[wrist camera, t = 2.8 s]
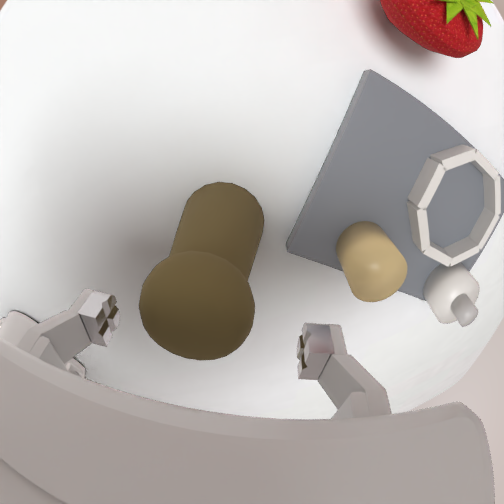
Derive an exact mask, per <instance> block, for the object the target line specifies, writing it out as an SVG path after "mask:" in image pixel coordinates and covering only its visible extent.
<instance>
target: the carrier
mask: <svg viewBox="0 0 504 504" xmlns="http://www.w3.org/2000/svg"><path fill="white" fill-rule="evenodd" d="M503 213H504V179H503V178H502V177H501V175H500V174H499V172H498V171H497V170H496V169H495V168H494V167H493V166H492V164H491V163H490V162H489V161H488V160H487V159H486V158H485V157H484V156H483V155H482V154H481V153H480V152H479V151H478V150H477V149H475V148H474V147H473V146H472V145H471V144H470V143H469V142H468V141H467V140H466V139H465V138H464V137H463V136H462V135H461V134H459V133H458V132H457V131H456V130H455V129H454V128H453V127H452V126H450V125H449V124H448V123H447V122H446V121H445V120H443V119H442V118H441V117H440V116H438V115H437V114H436V113H435V112H433V111H432V110H431V109H430V108H428V107H427V106H426V105H424V104H423V103H422V102H420V101H419V100H417V99H416V98H415V97H413V96H412V95H410V94H409V93H408V92H406V91H405V90H403V89H402V88H400V87H399V86H397V85H396V84H394V83H392V82H391V81H389V80H388V79H386V78H384V77H383V76H381V75H380V74H378V73H376V72H374V71H373V70H371V69H370V70H366V71H364V73H363V75H362V77H361V80H360V82H359V85H358V87H357V89H356V92H355V94H354V96H353V99H352V101H351V103H350V106H349V108H348V110H347V113H346V115H345V117H344V119H343V122H342V124H341V126H340V129H339V131H338V133H337V135H336V138H335V140H334V142H333V144H332V146H331V149H330V151H329V153H328V155H327V158H326V160H325V162H324V164H323V166H322V169H321V171H320V173H319V175H318V177H317V179H316V182H315V184H314V186H313V188H312V190H311V192H310V194H309V197H308V199H307V201H306V203H305V205H304V207H303V209H302V211H301V214H300V216H299V218H298V220H297V222H296V224H295V226H294V228H293V230H292V232H291V234H290V237H289V239H288V241H287V243H286V247H287V252H289V253H292V254H295V255H298V256H301V257H304V258H307V259H309V260H312V261H315V262H318V263H321V264H324V265H327V266H330V267H332V268H335V269H338V270H341V271H344V273H345V276H346V278H347V281H348V283H349V286H350V288H351V291H352V293H353V294H354V296H355V297H357V298H358V299H360V300H362V301H365V302H377V301H381V300H384V299H386V298H388V297H390V296H391V295H393V294H394V293H395V292H396V291H400V292H403V293H406V294H408V295H411V296H414V297H417V298H419V299H422V300H425V301H427V303H428V304H429V306H430V308H431V309H432V311H433V313H434V314H435V316H436V318H437V319H438V321H439V322H440V323H443V324H448V323H452V322H455V321H457V320H458V322H459V323H460V325H461V326H462V327H465V326H467V325H469V324H470V323H472V322H473V321H474V320H475V318H476V317H477V315H478V309H477V308H476V307H475V305H474V304H475V302H476V300H477V298H478V295H479V289H480V288H479V283H478V282H477V281H476V279H475V278H474V277H473V276H472V275H471V274H470V272H469V271H470V270H471V268H472V267H473V265H474V264H475V262H476V260H477V259H478V257H479V256H480V254H481V253H482V251H483V249H484V248H485V246H486V244H487V242H488V241H489V239H490V237H491V235H492V234H493V232H494V230H495V228H496V226H497V225H498V223H499V221H500V219H501V217H502V215H503Z"/></svg>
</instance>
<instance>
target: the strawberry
mask: <svg viewBox="0 0 504 504" xmlns="http://www.w3.org/2000/svg"><path fill="white" fill-rule="evenodd" d="M380 2H381V5H382V8H383V10H384V12H385V14H386V16H387V18H388V19H389V21H390V22H391V23H392V24H393V25H394V26H395V27H396V28H397V29H398V30H399V31H401V32H402V33H403V34H405V35H406V36H407V37H409V38H410V39H412V40H413V41H415V42H416V43H417V44H419V45H421V46H422V47H424V48H426V49H428V50H430V51H433V52H437V53H440V54H444V55H447V56H451V57H454V58H462V57H464V56H466V55H468V54H471V53H473V52H475V51H477V49H478V48H479V47H480V45H481V42H482V35H483V22H482V19H483V20H484V21H485V22H486V23H488V24H489V25H490V26H491V24H490V22H489V20H488V18H487V16H486V14H485V12H484V10H483V8H482V6H481V4H480V2H487V3H493V2H492V1H491V0H380Z"/></svg>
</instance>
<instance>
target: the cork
mask: <svg viewBox="0 0 504 504" xmlns="http://www.w3.org/2000/svg"><path fill="white" fill-rule="evenodd" d="M263 226H264V217H263V212H262V208H261V206H260V205H259V203H258V201H257V200H256V198H255V197H254V196H253V195H252V194H250V193H249V192H248V191H247V190H246V189H244V188H242V187H240V186H237V185H235V184H233V183H223V182H217V183H212V184H208V185H205V186H203V187H201V188H200V189H198V190H196V191H195V192H194V193H193V194H192V195H191V197H190V198H189V199H188V200H187V202H186V205H185V208H184V211H183V214H182V217H181V220H180V223H179V226H178V229H177V232H176V236H175V239H174V242H173V245H172V249H171V252H170V255H169V257H168V258H166V259H165V260H163V261H161V262H160V263H159V264H158V265H156V266H155V268H154V269H153V270H152V272H151V273H150V274H149V275H148V277H147V278H146V280H145V282H144V283H143V286H142V291H141V296H140V301H139V310H140V314H141V319H142V322H143V326H144V328H145V329H146V331H147V333H148V334H149V336H150V337H151V338H152V339H153V340H154V341H155V342H156V343H157V344H158V345H160V346H161V347H163V348H164V349H166V350H168V351H169V352H171V353H173V354H176V355H178V356H181V357H184V358H188V359H195V360H215V359H218V358H221V357H225V356H227V355H229V354H230V353H232V352H233V351H235V350H236V349H237V348H238V347H240V346H241V345H242V344H243V342H244V341H245V339H246V338H247V336H248V335H249V333H250V331H251V328H252V326H253V319H254V313H255V303H254V299H253V295H252V292H251V288H250V286H249V283H248V278H249V275H250V271H251V268H252V265H253V262H254V258H255V255H256V252H257V249H258V245H259V242H260V239H261V236H262V232H263Z"/></svg>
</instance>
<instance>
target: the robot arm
mask: <svg viewBox="0 0 504 504" xmlns="http://www.w3.org/2000/svg"><path fill="white" fill-rule="evenodd" d="M116 302H117V301H116V298H115V296H114V295H111V294H107V293H103V292H99V291H96V290H91V289H84V290H83V291H82V293H81V294H80V295H79V297H78V298H77V299H76V301H75V302H74V303H73V305H72V306H71V307H70V309H69V310H68V311H67V310H65V311H63V312H61V313H59V314H57V315H55V316H53V317H51V318H49V319H47V320H45V321H43V322H41V323H39V324H38V323H36V322H35V321H34V320H32V319H31V318H29V317H28V316H26V315H24V314H22V313H19V312H16V311H11V312H9V313H8V315H7V317H6V318H2V319H1V320H0V504H495V493H494V477H493V467H492V461H491V454H490V450H489V445H488V440H487V436H486V432H485V429H484V426H483V423H482V421H481V419H480V418H479V417H478V416H477V415H476V414H475V413H474V412H472V411H471V410H470V409H469V408H468V407H467V406H466V405H464V404H463V403H461V402H452V403H448V404H444V405H440V406H435V407H430V408H425V409H420V410H415V411H409V412H403V413H396V414H392V413H391V409H390V404H389V400H388V396H387V392H386V389H385V388H384V387H383V386H382V385H381V384H380V383H379V382H378V381H377V380H376V379H375V378H374V377H373V376H372V375H371V374H370V373H369V372H368V371H367V370H366V369H365V368H364V367H363V366H362V365H361V364H360V363H359V362H358V361H357V360H356V359H355V358H354V357H353V356H352V355H348V354H347V350H346V345H345V341H344V337H343V333H342V329H341V326H340V325H334V324H316V323H304V325H303V328H302V335H301V336H300V337H299V340H298V344H297V358H298V359H299V360H300V361H299V363H298V379H309V380H318V382H319V384H320V385H321V386H322V388H323V389H324V391H325V392H326V393H327V395H328V396H329V398H330V399H331V400H332V402H333V403H334V405H335V406H336V407H337V409H338V411H337V412H336V413H335V414H334V416H333V417H332V418H331V419H277V418H261V417H250V416H240V415H232V414H224V413H217V412H210V411H204V410H198V409H193V408H187V407H182V406H178V405H173V404H168V403H164V402H160V401H156V400H152V399H148V398H144V397H140V396H137V395H133V394H130V393H126V392H123V391H120V390H117V389H113V388H110V387H107V386H104V385H101V384H99V383H96V382H93V381H90V380H88V379H85V371H86V370H85V368H84V367H83V366H82V365H81V364H80V363H79V362H78V361H76V360H75V359H74V358H73V357H74V356H76V355H77V354H78V353H80V352H81V351H82V350H84V349H85V348H86V347H88V346H89V345H90V344H91V343H94V344H98V345H102V346H105V347H107V345H108V344H109V342H110V340H111V338H112V331H114V330H116V329H117V327H118V325H119V321H120V312H119V309H118V308H117V307H116V306H115V304H116Z"/></svg>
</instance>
